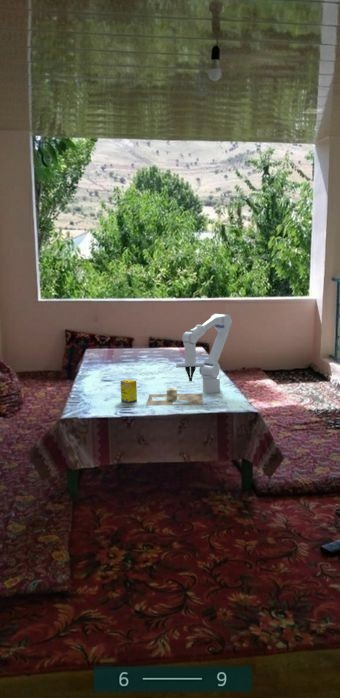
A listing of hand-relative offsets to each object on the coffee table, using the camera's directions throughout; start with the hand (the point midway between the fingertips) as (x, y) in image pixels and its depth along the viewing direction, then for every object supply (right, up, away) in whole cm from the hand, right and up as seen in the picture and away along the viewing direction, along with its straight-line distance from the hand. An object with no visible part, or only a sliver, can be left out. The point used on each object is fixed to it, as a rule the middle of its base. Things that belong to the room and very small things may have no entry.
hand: (190, 380), depth 272 cm
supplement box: (-32, -11, -1) cm, 34 cm away
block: (-10, -9, -3) cm, 14 cm away
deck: (-8, -11, -5) cm, 14 cm away
